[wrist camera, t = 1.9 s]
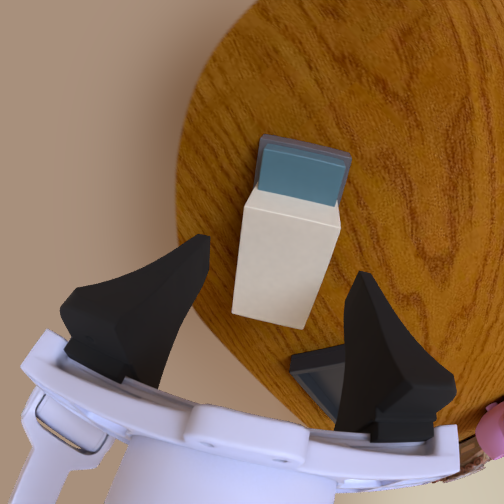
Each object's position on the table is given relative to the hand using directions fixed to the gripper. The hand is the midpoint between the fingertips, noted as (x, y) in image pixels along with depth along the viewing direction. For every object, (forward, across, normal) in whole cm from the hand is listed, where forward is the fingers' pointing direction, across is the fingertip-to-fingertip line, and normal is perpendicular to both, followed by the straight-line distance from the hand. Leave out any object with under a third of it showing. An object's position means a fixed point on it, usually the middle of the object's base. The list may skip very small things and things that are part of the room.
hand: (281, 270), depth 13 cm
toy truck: (+5, 0, 0) cm, 5 cm away
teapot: (+5, -46, +22) cm, 51 cm away
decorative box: (+5, -57, +48) cm, 75 cm away
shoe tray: (+5, -12, +18) cm, 22 cm away
